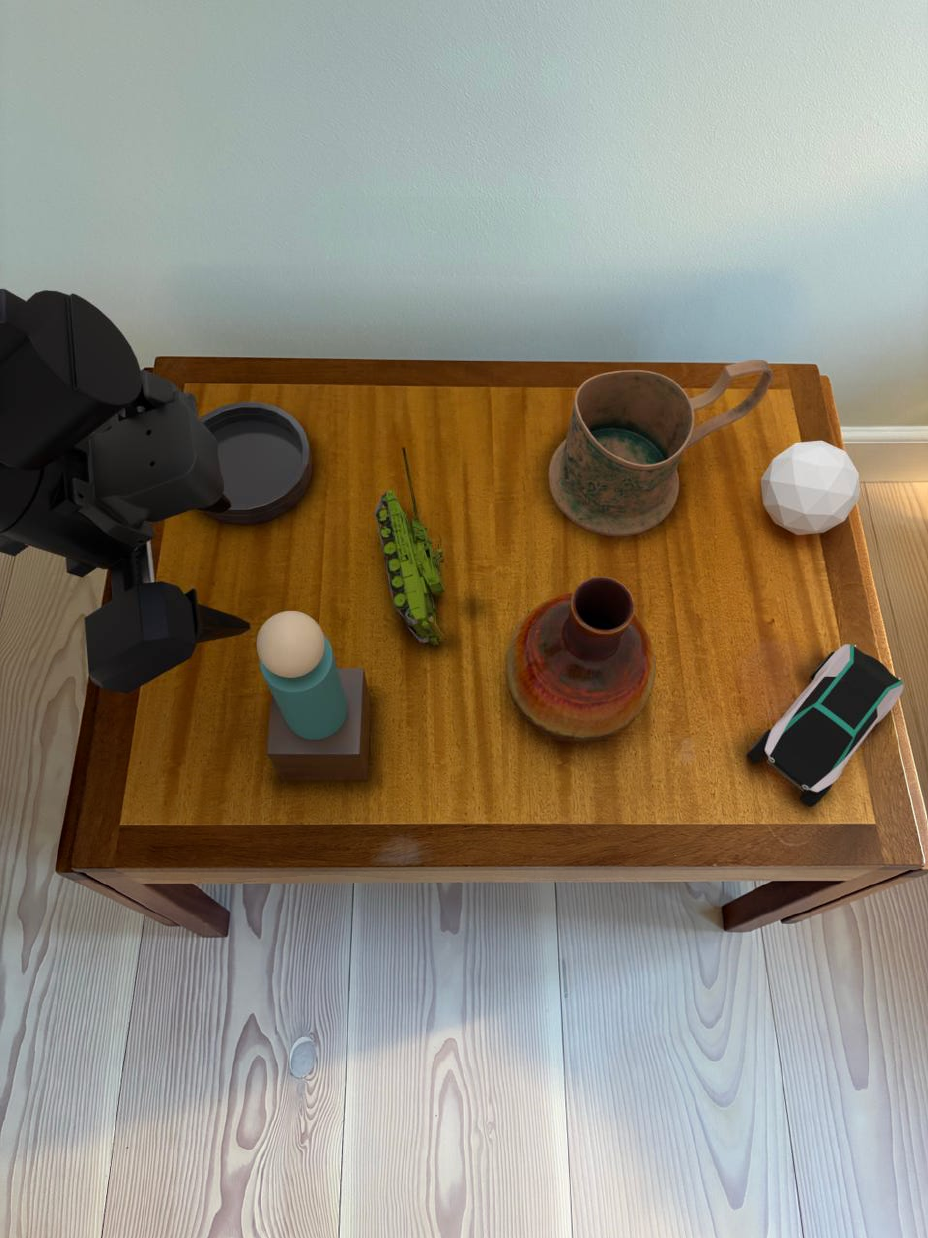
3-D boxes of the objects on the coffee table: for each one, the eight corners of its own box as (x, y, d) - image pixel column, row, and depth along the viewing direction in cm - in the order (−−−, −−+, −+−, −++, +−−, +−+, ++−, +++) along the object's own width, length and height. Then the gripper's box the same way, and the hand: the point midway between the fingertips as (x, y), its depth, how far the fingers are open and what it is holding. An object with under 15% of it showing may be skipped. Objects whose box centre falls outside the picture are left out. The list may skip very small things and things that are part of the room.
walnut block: (367, 781, 67) (359, 754, 61) (282, 780, 67) (265, 754, 61) (371, 701, 70) (364, 667, 64) (289, 700, 70) (274, 667, 64)
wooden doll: (345, 740, 62) (322, 667, 49) (281, 740, 61) (242, 666, 49) (349, 680, 63) (327, 595, 51) (287, 680, 63) (250, 595, 51)
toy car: (888, 703, 71) (921, 678, 66) (804, 812, 67) (833, 795, 62) (826, 656, 73) (853, 629, 68) (740, 760, 69) (763, 739, 64)
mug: (761, 500, 79) (812, 414, 68) (575, 551, 76) (597, 470, 65) (707, 400, 84) (747, 304, 73) (530, 444, 81) (544, 352, 70)
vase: (655, 745, 69) (710, 672, 55) (515, 766, 68) (534, 696, 54) (623, 617, 74) (665, 519, 60) (491, 635, 73) (502, 539, 59)
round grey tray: (308, 525, 77) (304, 510, 75) (177, 524, 77) (169, 508, 74) (316, 420, 82) (313, 402, 79) (193, 418, 81) (186, 400, 79)
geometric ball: (768, 545, 73) (729, 492, 79) (846, 558, 76) (803, 506, 81) (816, 466, 69) (771, 416, 74) (898, 483, 71) (848, 433, 77)
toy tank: (370, 633, 67) (499, 597, 66) (333, 432, 75) (448, 398, 74) (394, 665, 73) (512, 633, 72) (358, 476, 81) (464, 446, 80)
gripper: (129, 569, 38) (357, 645, 51) (99, 257, 46) (304, 391, 59) (-24, 669, 43) (220, 716, 56) (-28, 371, 51) (187, 472, 63)
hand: (235, 566), depth 58 cm, fingers open, 9 cm apart
